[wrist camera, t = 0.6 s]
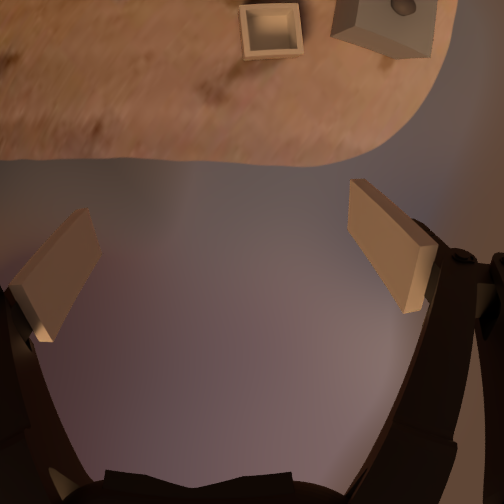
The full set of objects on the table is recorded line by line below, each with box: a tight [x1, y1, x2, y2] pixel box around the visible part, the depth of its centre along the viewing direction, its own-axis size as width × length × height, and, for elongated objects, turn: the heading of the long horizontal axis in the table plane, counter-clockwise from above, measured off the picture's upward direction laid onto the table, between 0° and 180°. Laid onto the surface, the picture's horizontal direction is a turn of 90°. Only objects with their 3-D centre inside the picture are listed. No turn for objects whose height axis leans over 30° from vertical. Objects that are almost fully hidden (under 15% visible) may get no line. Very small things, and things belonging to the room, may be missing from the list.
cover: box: [330, 0, 437, 59], centre depth 23 cm, size 9×9×9 cm
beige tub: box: [238, 3, 304, 61], centre depth 27 cm, size 6×6×4 cm
